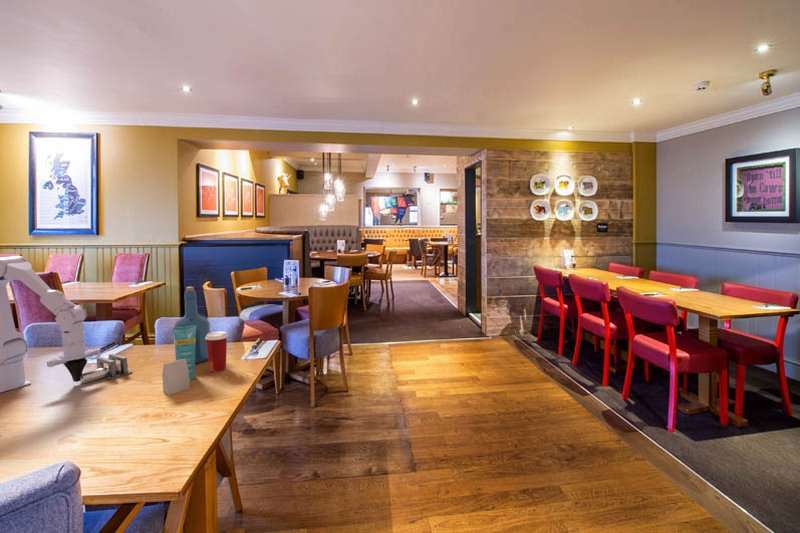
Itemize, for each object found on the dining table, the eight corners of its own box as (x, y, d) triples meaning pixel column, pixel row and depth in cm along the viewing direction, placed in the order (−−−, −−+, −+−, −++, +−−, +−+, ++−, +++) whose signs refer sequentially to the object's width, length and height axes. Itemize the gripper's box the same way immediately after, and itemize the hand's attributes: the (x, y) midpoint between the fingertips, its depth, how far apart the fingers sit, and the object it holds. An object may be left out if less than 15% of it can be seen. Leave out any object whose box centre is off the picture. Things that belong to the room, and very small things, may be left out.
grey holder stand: (109, 380, 137) (108, 363, 137) (92, 374, 142) (91, 358, 142) (120, 376, 141) (119, 360, 140) (103, 371, 146) (102, 355, 145)
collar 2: (121, 376, 141) (120, 359, 140) (105, 371, 146) (103, 355, 145) (132, 373, 144) (131, 356, 144) (115, 368, 149) (114, 352, 148)
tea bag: (189, 388, 131) (188, 359, 130) (167, 395, 126) (166, 365, 125) (184, 385, 134) (183, 357, 133) (163, 392, 128) (161, 362, 127)
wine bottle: (196, 366, 151) (192, 290, 148) (167, 364, 154) (162, 289, 151) (219, 355, 165) (216, 285, 161) (192, 353, 167) (188, 283, 164)
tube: (176, 382, 136) (173, 329, 134) (175, 378, 140) (172, 326, 138) (199, 378, 140) (197, 326, 138) (198, 374, 144) (195, 323, 142)
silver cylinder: (83, 385, 134) (84, 377, 133) (78, 380, 135) (79, 372, 134) (127, 372, 146) (128, 364, 145) (122, 367, 148) (123, 359, 147)
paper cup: (232, 366, 152) (231, 331, 150) (221, 373, 144) (220, 336, 143) (213, 365, 153) (212, 330, 151) (202, 372, 145) (200, 336, 144)
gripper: (52, 349, 124) (56, 391, 125) (104, 338, 137) (107, 375, 138) (42, 346, 127) (45, 386, 128) (93, 335, 140) (96, 372, 141)
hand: (76, 380), depth 133 cm, fingers closed
